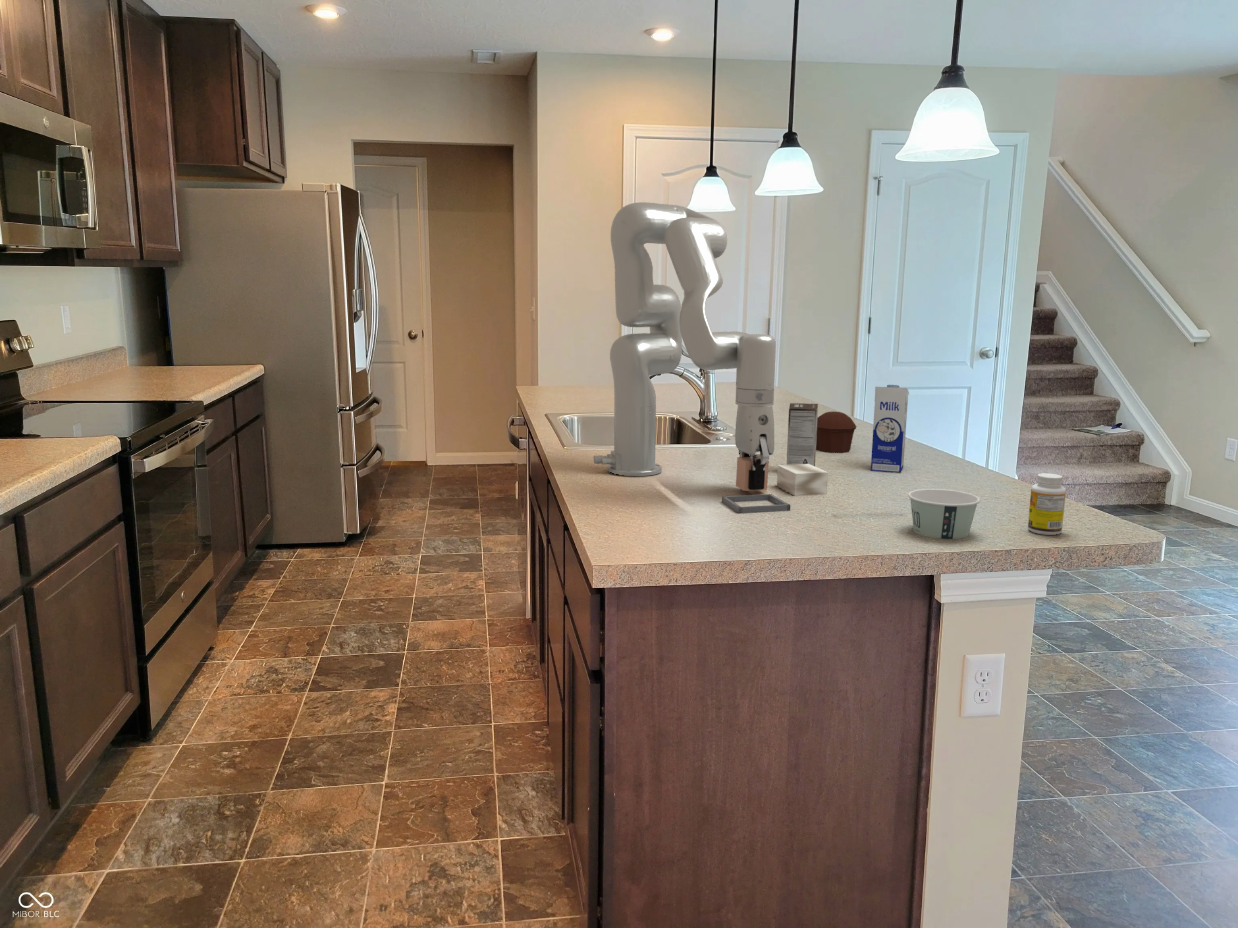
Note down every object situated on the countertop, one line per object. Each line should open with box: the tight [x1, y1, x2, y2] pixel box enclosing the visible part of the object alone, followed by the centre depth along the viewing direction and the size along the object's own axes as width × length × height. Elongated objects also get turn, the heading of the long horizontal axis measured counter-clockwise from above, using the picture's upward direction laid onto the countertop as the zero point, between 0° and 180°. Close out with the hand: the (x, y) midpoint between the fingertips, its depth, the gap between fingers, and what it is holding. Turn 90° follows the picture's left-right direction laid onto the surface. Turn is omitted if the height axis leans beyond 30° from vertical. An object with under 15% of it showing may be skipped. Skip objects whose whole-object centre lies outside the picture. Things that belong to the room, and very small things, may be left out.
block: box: [735, 456, 770, 492], centre depth 184 cm, size 5×4×6 cm
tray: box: [721, 493, 791, 514], centre depth 173 cm, size 10×9×2 cm
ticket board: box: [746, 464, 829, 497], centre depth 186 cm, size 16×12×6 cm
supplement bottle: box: [1027, 472, 1067, 536], centre depth 160 cm, size 6×6×10 cm
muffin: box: [816, 411, 857, 454], centre depth 238 cm, size 12×11×10 cm
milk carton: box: [870, 384, 910, 473], centre depth 212 cm, size 7×7×20 cm
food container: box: [907, 488, 981, 540], centre depth 160 cm, size 12×12×6 cm
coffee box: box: [786, 402, 819, 467], centre depth 206 cm, size 9×6×16 cm
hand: (751, 485), depth 184 cm, fingers closed on block, 4 cm apart
